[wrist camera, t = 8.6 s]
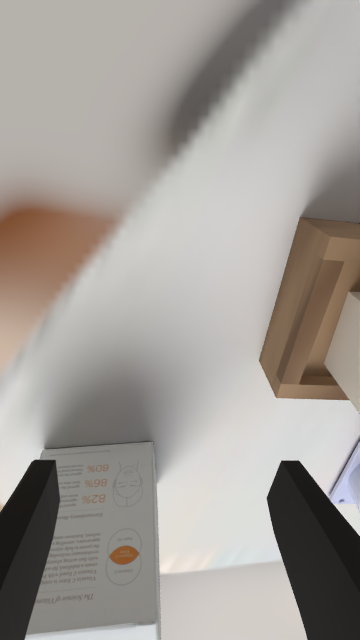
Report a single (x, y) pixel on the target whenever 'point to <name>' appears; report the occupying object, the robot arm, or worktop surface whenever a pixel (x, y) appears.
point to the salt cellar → (347, 350)
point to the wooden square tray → (311, 309)
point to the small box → (102, 548)
